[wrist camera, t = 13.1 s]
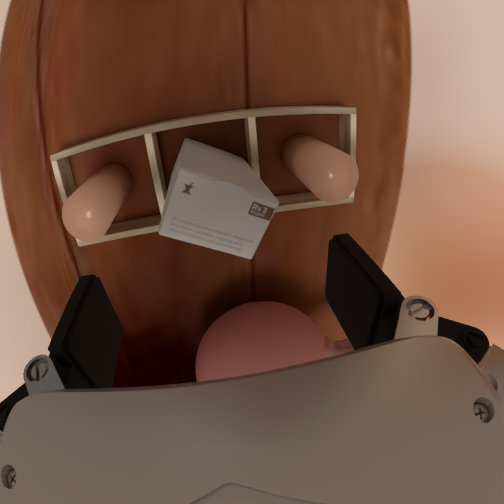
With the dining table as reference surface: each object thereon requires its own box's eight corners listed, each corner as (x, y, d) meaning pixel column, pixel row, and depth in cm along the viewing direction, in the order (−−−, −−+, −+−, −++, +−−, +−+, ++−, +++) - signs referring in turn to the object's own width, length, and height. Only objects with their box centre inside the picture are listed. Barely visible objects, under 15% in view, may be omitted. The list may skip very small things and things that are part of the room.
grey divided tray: (342, 193, 29) (381, 227, 23) (86, 234, 27) (59, 279, 20) (343, 105, 24) (390, 115, 17) (61, 149, 21) (18, 174, 15)
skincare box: (170, 177, 25) (150, 240, 15) (186, 133, 24) (173, 165, 13) (229, 197, 28) (250, 267, 17) (248, 155, 26) (282, 202, 15)
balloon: (333, 337, 42) (371, 419, 29) (206, 363, 40) (216, 456, 27) (344, 257, 34) (410, 349, 21) (181, 285, 32) (179, 405, 19)
